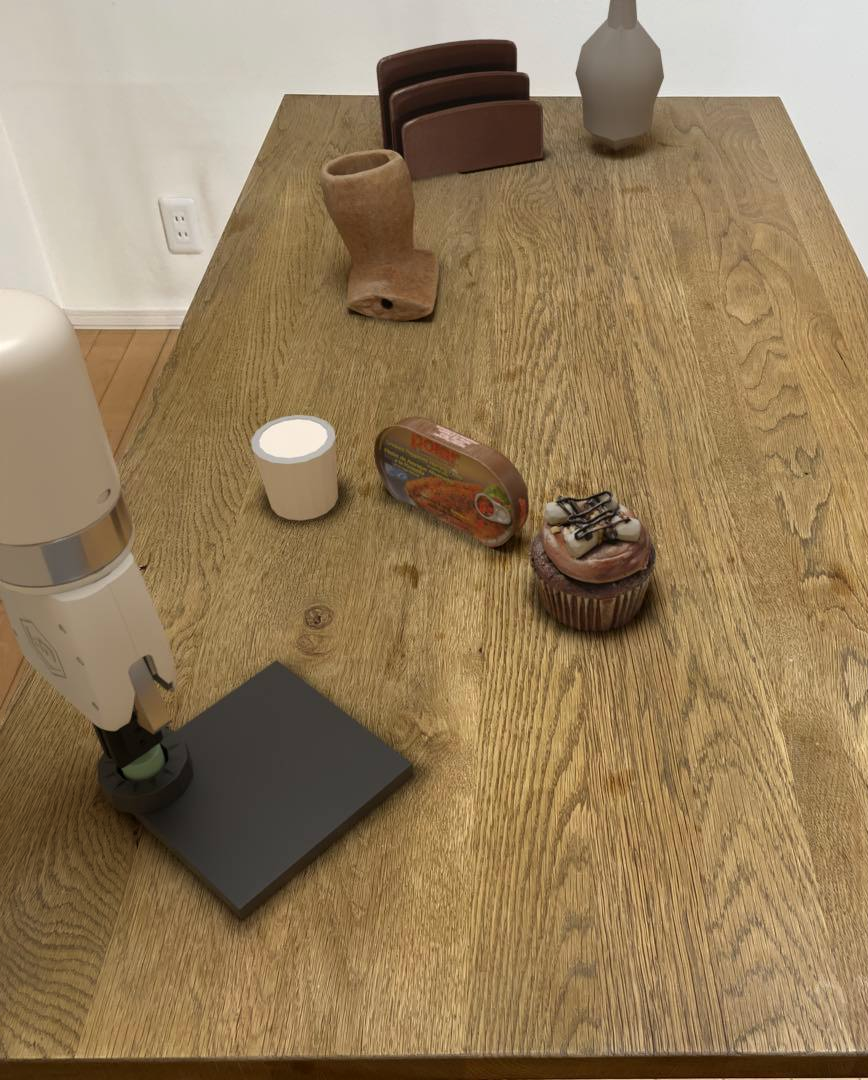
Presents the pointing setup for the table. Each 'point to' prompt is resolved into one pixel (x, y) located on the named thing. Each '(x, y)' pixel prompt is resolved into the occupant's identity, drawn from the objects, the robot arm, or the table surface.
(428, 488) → the tin
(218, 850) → the scale
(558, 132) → the table surface
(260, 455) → the white cup
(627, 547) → the cupcake
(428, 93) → the letter holder
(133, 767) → the button
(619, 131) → the bottle
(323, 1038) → the table surface
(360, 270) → the clay boot vessel
